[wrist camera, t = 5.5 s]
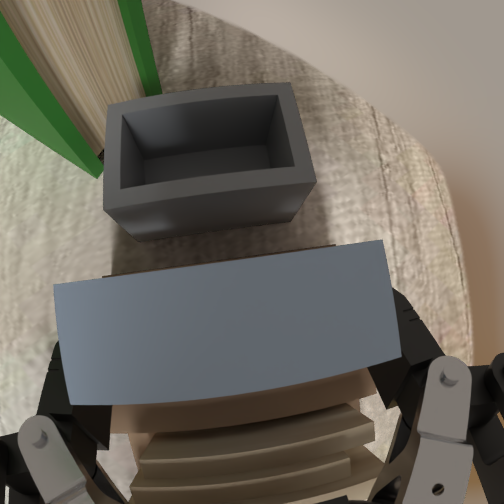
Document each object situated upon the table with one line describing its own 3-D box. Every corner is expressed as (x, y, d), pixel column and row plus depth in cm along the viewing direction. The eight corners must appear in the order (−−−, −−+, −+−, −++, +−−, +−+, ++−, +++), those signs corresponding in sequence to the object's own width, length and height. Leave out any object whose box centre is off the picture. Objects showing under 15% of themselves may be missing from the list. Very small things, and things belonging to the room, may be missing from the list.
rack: (354, 452, 17) (381, 477, 13) (151, 483, 15) (136, 515, 11) (327, 249, 19) (351, 233, 15) (111, 279, 18) (83, 269, 14)
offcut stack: (346, 444, 15) (393, 488, 10) (155, 473, 14) (129, 530, 8) (342, 398, 16) (392, 431, 10) (143, 428, 15) (107, 474, 9)
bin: (290, 221, 19) (316, 181, 13) (138, 241, 18) (103, 210, 12) (274, 140, 20) (290, 82, 14) (135, 158, 19) (107, 105, 13)
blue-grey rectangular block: (282, 330, 16) (401, 356, 5) (177, 345, 16) (70, 404, 4) (276, 292, 17) (382, 239, 5) (171, 307, 16) (53, 284, 5)
